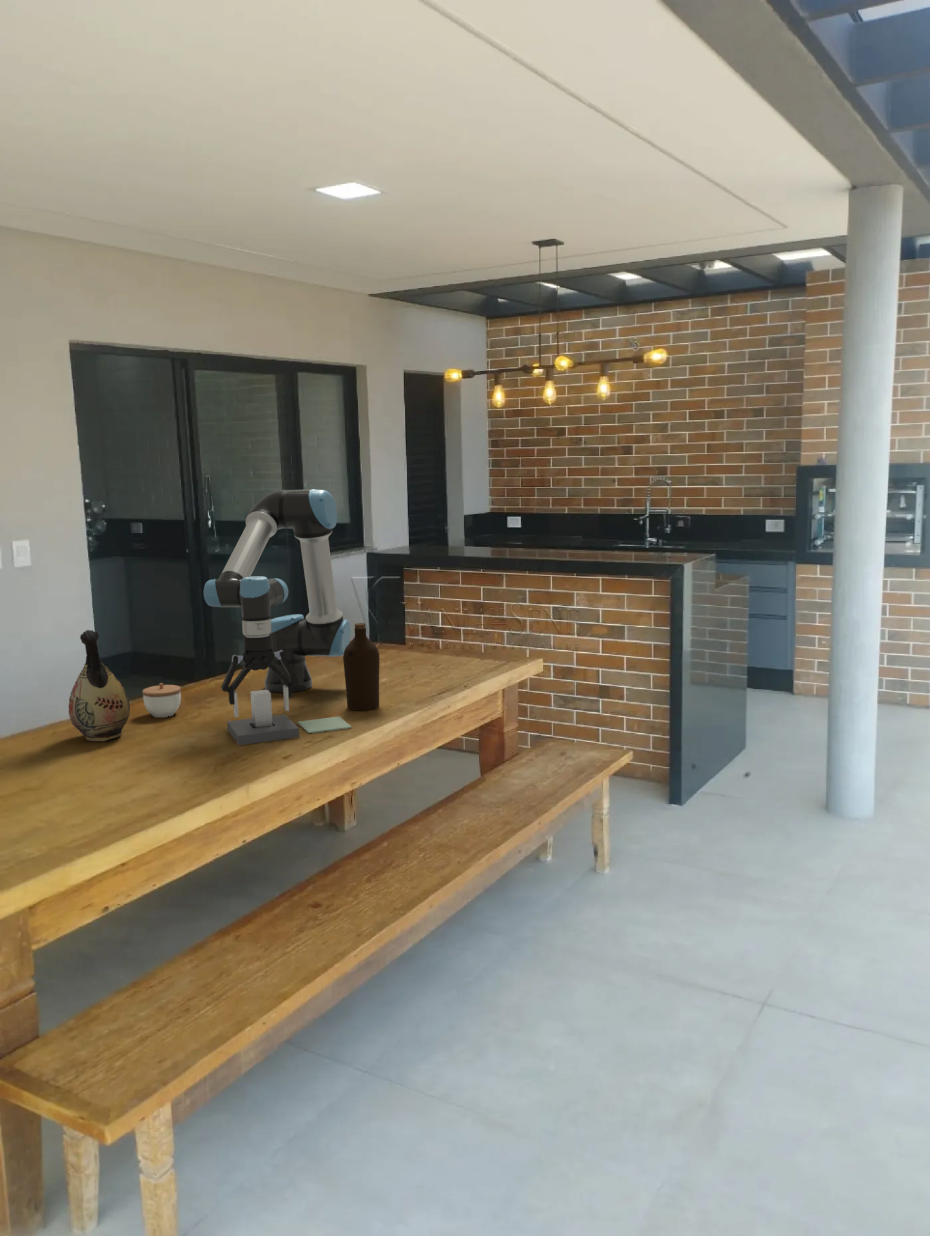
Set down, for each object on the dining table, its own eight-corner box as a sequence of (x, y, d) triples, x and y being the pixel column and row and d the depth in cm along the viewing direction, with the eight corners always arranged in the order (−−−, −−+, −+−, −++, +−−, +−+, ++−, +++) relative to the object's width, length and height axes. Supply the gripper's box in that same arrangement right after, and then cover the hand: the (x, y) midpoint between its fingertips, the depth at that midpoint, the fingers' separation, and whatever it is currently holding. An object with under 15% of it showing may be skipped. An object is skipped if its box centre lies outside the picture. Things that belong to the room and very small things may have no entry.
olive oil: (379, 711, 291) (376, 626, 287) (343, 712, 291) (339, 627, 287) (382, 702, 301) (379, 620, 297) (347, 703, 301) (344, 621, 297)
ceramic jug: (70, 734, 274) (60, 626, 269) (129, 727, 280) (120, 621, 275) (72, 750, 258) (62, 636, 253) (135, 742, 264) (126, 630, 259)
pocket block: (227, 730, 274) (227, 721, 274) (285, 723, 280) (284, 714, 280) (238, 745, 259) (238, 735, 259) (299, 737, 266) (298, 728, 265)
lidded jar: (190, 712, 295) (188, 681, 293) (165, 721, 285) (162, 689, 284) (161, 708, 299) (159, 678, 298) (136, 717, 290) (133, 686, 288)
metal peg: (252, 732, 271) (250, 691, 269) (269, 730, 273) (267, 689, 271) (256, 737, 267) (253, 694, 265) (273, 734, 269) (270, 693, 267)
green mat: (297, 723, 279) (297, 721, 279) (339, 718, 284) (339, 716, 284) (308, 734, 269) (308, 732, 268) (351, 728, 273) (351, 726, 273)
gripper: (211, 641, 257) (216, 721, 261) (306, 633, 267) (310, 710, 270) (207, 637, 264) (212, 715, 267) (300, 628, 274) (303, 704, 277)
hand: (261, 713), depth 269 cm, fingers open, 13 cm apart
